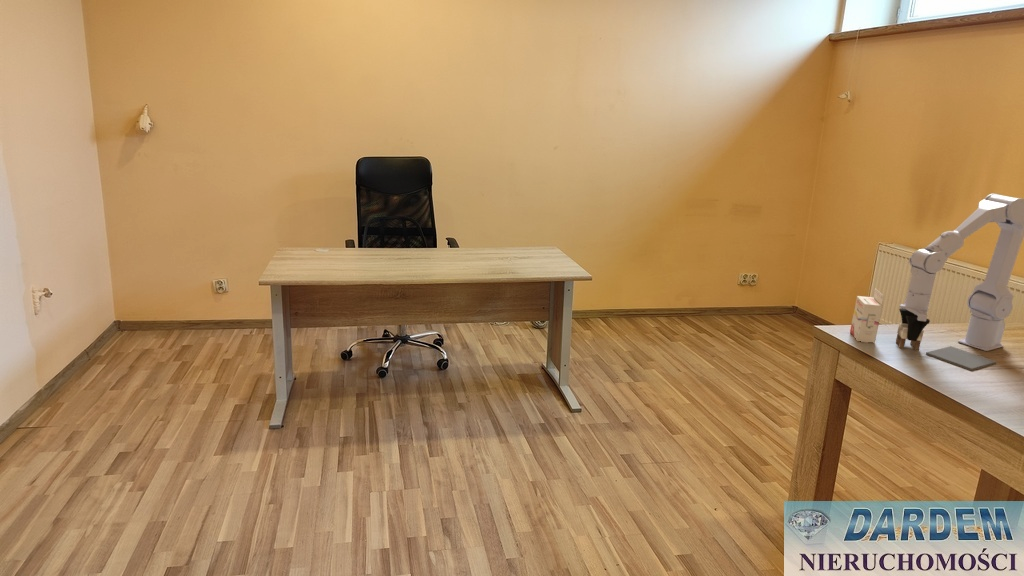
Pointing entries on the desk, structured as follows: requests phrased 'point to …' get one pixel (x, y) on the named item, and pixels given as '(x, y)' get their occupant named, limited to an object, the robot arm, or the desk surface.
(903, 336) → the stool
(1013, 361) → the desk surface
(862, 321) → the ink cartridge box
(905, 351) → the desk surface
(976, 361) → the mat
